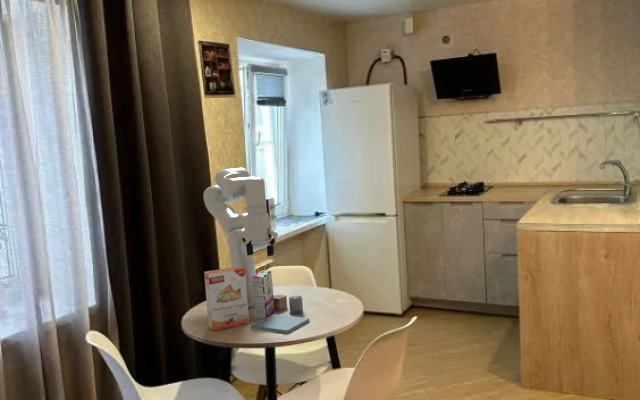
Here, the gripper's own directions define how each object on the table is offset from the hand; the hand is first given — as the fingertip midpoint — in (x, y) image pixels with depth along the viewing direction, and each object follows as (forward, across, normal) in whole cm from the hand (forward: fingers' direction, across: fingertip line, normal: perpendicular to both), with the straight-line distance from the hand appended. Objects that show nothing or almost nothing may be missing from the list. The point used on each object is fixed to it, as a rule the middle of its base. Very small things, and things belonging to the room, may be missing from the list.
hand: (260, 255), depth 216 cm
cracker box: (+24, -6, -15) cm, 28 cm away
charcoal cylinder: (+24, +10, +7) cm, 26 cm away
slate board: (+24, +12, -8) cm, 28 cm away
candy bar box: (+24, 0, 0) cm, 24 cm away
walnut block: (+24, 0, +9) cm, 25 cm away
